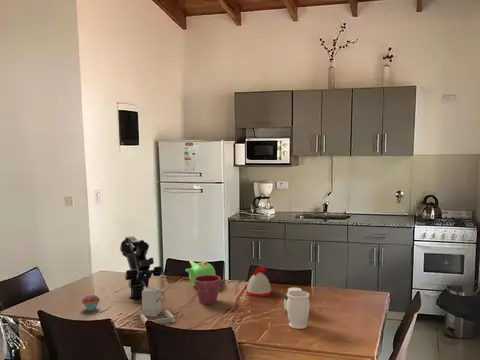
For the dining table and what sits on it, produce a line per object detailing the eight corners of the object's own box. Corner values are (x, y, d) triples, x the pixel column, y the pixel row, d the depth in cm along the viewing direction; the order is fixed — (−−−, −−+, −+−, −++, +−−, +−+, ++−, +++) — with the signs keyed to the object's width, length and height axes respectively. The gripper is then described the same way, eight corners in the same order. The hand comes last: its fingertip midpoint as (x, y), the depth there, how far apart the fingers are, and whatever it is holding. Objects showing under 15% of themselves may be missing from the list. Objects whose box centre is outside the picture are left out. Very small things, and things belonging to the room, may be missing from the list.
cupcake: (103, 307, 241) (102, 284, 240) (92, 312, 233) (92, 289, 232) (89, 305, 244) (88, 283, 243) (78, 311, 236) (78, 287, 235)
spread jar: (290, 316, 225) (290, 293, 225) (278, 309, 235) (278, 287, 235) (310, 312, 231) (310, 289, 230) (297, 305, 241) (297, 283, 240)
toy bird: (214, 290, 269) (214, 265, 268) (185, 290, 269) (185, 265, 269) (216, 281, 287) (216, 257, 286) (189, 281, 287) (188, 258, 286)
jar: (284, 321, 218) (284, 290, 217) (306, 321, 219) (306, 289, 218) (289, 330, 208) (289, 297, 207) (311, 329, 209) (311, 296, 208)
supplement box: (156, 317, 226) (155, 291, 226) (141, 316, 228) (141, 290, 227) (161, 311, 234) (161, 287, 233) (147, 311, 235) (147, 286, 234)
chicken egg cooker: (276, 293, 261) (276, 267, 260) (256, 298, 254) (256, 271, 253) (261, 288, 273) (261, 262, 272) (241, 292, 265) (241, 266, 264)
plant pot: (199, 296, 257) (198, 273, 257) (223, 298, 254) (223, 275, 254) (191, 305, 243) (190, 281, 243) (217, 306, 241) (216, 282, 240)
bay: (140, 319, 224) (140, 314, 224) (167, 314, 230) (167, 310, 230) (146, 326, 214) (146, 322, 214) (174, 321, 220) (174, 317, 220)
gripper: (125, 254, 236) (131, 281, 227) (161, 251, 245) (168, 276, 236) (122, 266, 244) (128, 292, 235) (157, 262, 252) (163, 287, 243)
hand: (147, 287), depth 237 cm, fingers closed
